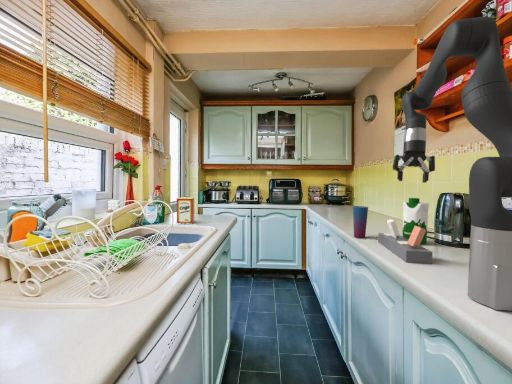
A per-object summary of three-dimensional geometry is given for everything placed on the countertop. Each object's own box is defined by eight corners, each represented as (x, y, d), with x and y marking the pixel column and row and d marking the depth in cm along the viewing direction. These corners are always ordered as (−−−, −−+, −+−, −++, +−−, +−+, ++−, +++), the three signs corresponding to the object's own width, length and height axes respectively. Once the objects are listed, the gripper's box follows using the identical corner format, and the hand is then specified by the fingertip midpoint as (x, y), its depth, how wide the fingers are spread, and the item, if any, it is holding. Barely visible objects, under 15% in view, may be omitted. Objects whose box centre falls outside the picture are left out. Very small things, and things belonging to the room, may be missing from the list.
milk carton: (399, 241, 113) (401, 197, 112) (408, 239, 118) (410, 197, 117) (420, 246, 106) (422, 199, 105) (429, 243, 111) (431, 198, 110)
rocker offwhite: (400, 237, 100) (394, 220, 100) (396, 238, 100) (390, 222, 100) (396, 235, 104) (390, 219, 104) (391, 236, 105) (386, 220, 105)
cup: (368, 239, 117) (369, 207, 116) (353, 238, 118) (354, 207, 118) (365, 236, 124) (366, 206, 123) (350, 235, 125) (351, 205, 124)
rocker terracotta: (417, 248, 86) (426, 229, 86) (412, 246, 87) (421, 227, 86) (411, 245, 91) (419, 227, 90) (406, 243, 91) (414, 225, 90)
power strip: (431, 263, 83) (432, 251, 83) (405, 262, 84) (406, 249, 84) (390, 238, 118) (391, 229, 118) (373, 238, 119) (373, 229, 119)
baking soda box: (194, 221, 161) (194, 197, 160) (192, 223, 154) (192, 197, 154) (179, 222, 160) (179, 197, 159) (176, 223, 154) (176, 197, 153)
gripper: (398, 138, 97) (395, 179, 97) (439, 139, 94) (437, 182, 93) (392, 143, 104) (389, 181, 104) (430, 144, 101) (428, 183, 101)
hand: (412, 181), depth 99 cm, fingers open, 8 cm apart
